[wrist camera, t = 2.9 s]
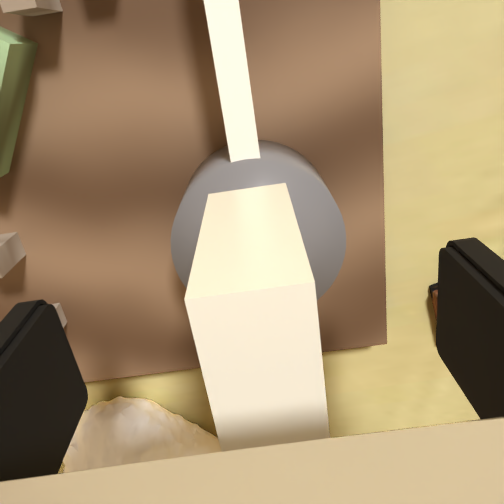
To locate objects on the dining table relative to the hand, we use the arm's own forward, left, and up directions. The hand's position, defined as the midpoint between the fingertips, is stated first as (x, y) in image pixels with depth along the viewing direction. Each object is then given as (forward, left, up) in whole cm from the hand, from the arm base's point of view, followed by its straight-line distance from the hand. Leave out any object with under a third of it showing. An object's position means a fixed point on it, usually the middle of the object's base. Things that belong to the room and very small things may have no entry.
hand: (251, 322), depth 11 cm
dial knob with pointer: (-4, 0, -7) cm, 8 cm away
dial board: (-2, -4, -9) cm, 10 cm away
